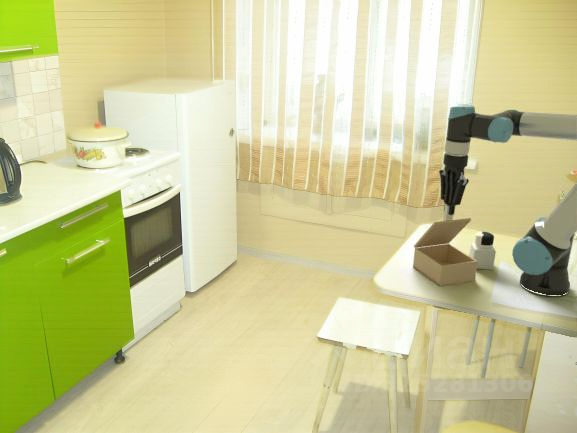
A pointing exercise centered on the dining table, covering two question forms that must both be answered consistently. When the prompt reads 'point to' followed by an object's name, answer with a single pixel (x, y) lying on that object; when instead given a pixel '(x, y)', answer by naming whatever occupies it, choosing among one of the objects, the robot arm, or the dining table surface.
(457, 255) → the box
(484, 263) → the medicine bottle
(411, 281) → the dining table surface
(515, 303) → the dining table surface
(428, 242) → the lid
